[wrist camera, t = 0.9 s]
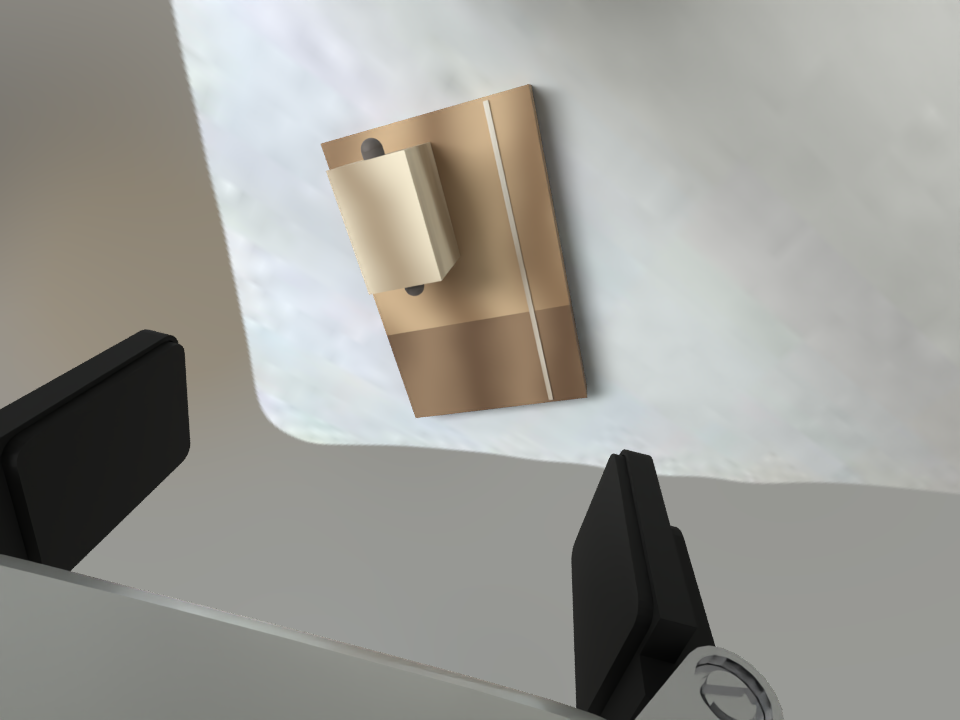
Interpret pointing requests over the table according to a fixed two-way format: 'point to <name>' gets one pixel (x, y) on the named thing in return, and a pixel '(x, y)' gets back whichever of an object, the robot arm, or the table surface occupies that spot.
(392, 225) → the beige block with knob
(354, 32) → the table surface
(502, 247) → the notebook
